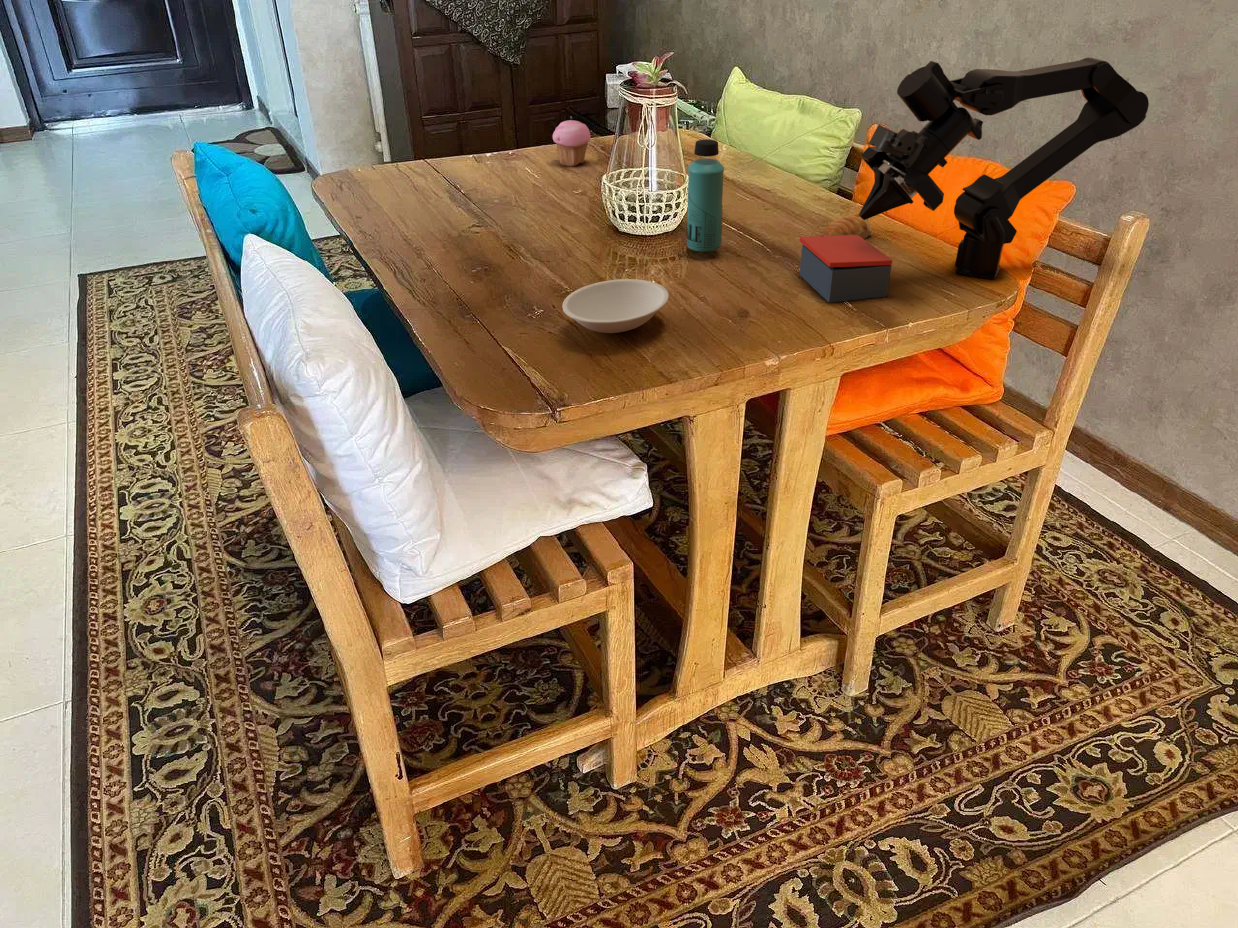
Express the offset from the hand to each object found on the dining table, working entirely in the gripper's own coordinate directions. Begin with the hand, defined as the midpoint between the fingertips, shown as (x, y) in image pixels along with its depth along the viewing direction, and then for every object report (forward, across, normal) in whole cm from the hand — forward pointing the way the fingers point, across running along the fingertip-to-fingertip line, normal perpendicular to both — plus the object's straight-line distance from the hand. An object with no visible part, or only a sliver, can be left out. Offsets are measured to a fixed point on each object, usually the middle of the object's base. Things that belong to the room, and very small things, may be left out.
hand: (861, 217), depth 147 cm
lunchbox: (+9, 0, +7) cm, 11 cm away
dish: (+38, +8, -22) cm, 44 cm away
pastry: (+2, -22, +15) cm, 27 cm away
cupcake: (+31, -87, -15) cm, 93 cm away
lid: (+6, 0, +2) cm, 6 cm away
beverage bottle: (+22, -20, -6) cm, 31 cm away
